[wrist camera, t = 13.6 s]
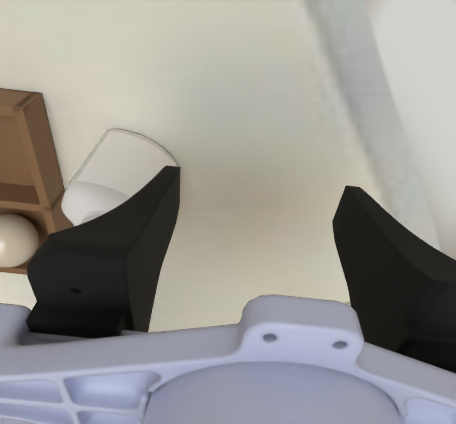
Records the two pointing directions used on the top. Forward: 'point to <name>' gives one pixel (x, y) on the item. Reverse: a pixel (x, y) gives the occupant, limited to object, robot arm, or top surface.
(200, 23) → the top surface
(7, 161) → the wooden compartment tray
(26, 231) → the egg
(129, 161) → the eye dropper bottle
